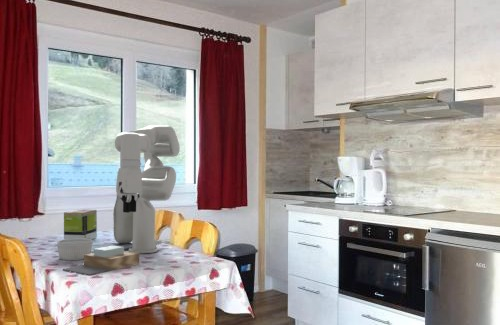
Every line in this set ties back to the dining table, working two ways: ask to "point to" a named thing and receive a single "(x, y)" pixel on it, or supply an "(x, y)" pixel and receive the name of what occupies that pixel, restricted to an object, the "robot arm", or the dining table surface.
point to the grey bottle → (122, 223)
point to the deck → (112, 260)
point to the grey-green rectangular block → (108, 251)
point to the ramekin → (74, 248)
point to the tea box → (80, 224)
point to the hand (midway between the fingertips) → (129, 211)
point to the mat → (87, 269)
